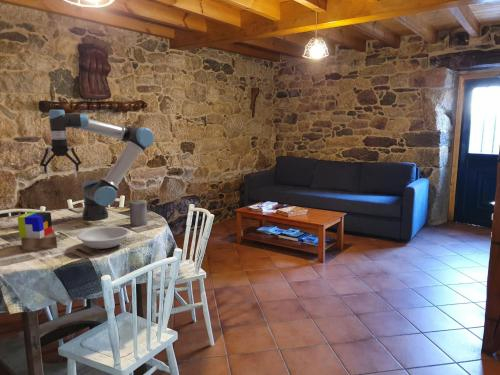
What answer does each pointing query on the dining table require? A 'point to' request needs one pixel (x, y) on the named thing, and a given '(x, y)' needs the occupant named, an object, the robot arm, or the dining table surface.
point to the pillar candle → (138, 212)
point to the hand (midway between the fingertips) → (62, 177)
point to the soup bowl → (103, 237)
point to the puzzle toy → (35, 225)
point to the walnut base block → (39, 243)
